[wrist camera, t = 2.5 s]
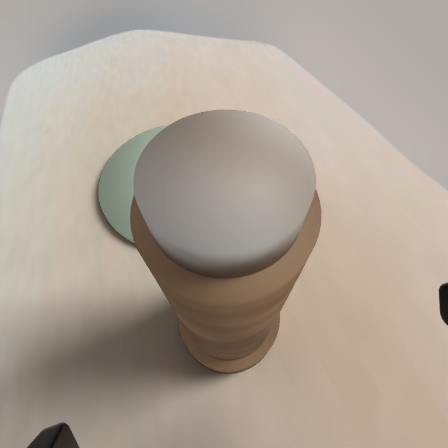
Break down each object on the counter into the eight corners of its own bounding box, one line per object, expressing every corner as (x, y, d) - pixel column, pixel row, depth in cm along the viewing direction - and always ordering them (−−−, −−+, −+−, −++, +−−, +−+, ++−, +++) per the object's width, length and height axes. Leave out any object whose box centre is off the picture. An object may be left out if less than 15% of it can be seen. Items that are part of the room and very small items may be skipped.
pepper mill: (249, 393, 16) (297, 364, 4) (164, 342, 17) (32, 218, 6) (289, 303, 18) (389, 131, 7) (211, 264, 19) (183, 64, 8)
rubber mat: (204, 280, 19) (203, 277, 18) (68, 208, 22) (64, 204, 21) (277, 158, 24) (278, 153, 23) (158, 112, 26) (156, 107, 26)
